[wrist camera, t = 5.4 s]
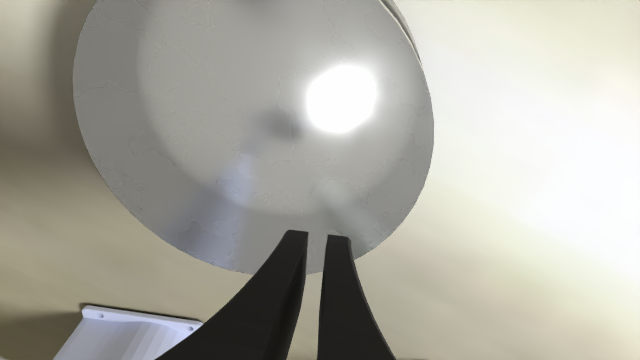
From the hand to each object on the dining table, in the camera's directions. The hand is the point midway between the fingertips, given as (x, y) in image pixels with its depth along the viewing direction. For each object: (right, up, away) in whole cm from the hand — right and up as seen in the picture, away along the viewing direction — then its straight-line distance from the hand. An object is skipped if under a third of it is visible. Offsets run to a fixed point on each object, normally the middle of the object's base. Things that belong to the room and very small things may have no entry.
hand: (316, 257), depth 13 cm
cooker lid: (-3, +6, +4) cm, 8 cm away
